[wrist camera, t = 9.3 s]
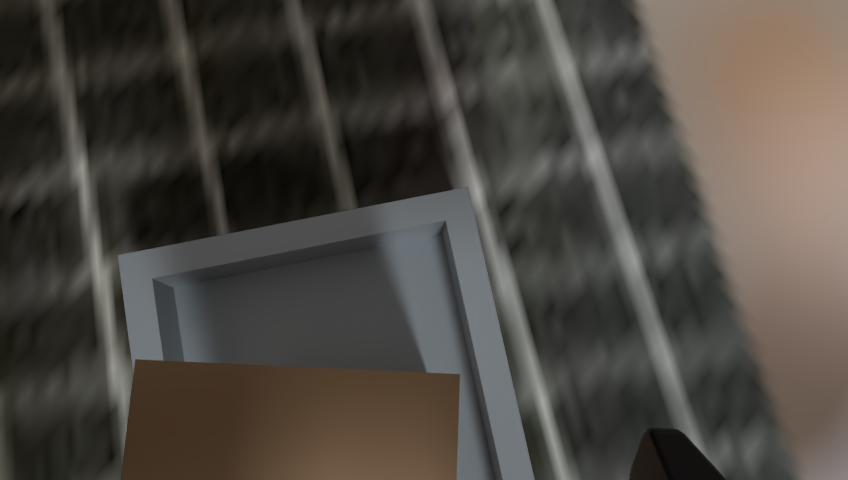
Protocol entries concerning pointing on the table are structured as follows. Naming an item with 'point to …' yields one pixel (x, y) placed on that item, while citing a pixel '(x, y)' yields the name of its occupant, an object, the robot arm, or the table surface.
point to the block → (289, 423)
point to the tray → (343, 308)
